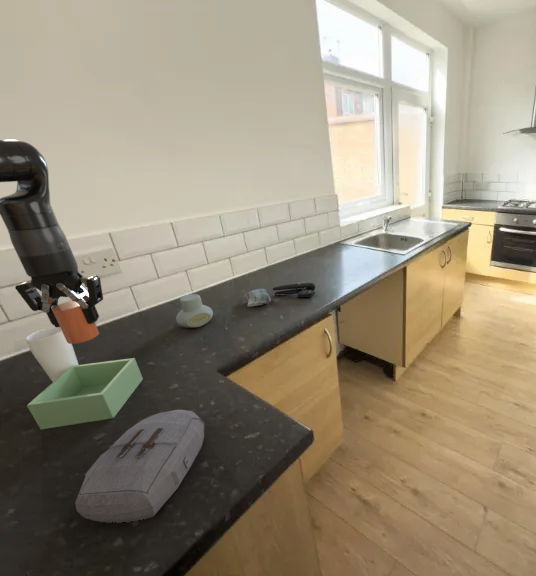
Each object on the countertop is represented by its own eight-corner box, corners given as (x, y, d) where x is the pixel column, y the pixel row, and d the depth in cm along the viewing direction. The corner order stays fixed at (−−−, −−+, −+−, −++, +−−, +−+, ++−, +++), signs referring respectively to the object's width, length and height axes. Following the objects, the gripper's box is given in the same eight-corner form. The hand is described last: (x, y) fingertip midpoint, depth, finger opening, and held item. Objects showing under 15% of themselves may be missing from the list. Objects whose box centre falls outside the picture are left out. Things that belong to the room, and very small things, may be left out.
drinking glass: (92, 380, 82) (69, 330, 76) (58, 396, 77) (30, 343, 71) (82, 372, 85) (58, 323, 79) (48, 387, 80) (20, 336, 74)
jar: (60, 345, 68) (44, 312, 65) (77, 332, 73) (63, 301, 70) (90, 342, 69) (75, 309, 66) (104, 329, 74) (91, 298, 71)
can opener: (318, 292, 132) (317, 279, 130) (313, 299, 125) (311, 286, 123) (277, 291, 134) (275, 279, 131) (270, 298, 127) (268, 285, 125)
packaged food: (248, 311, 117) (246, 299, 115) (244, 300, 126) (241, 288, 125) (272, 306, 121) (270, 294, 119) (266, 295, 130) (264, 284, 128)
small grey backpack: (168, 525, 49) (223, 424, 67) (151, 488, 46) (214, 393, 64) (67, 531, 48) (150, 428, 67) (43, 494, 45) (137, 396, 64)
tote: (40, 429, 67) (26, 405, 65) (82, 387, 79) (71, 365, 77) (113, 418, 70) (102, 394, 67) (143, 379, 82) (134, 357, 79)
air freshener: (209, 314, 115) (202, 289, 112) (218, 321, 110) (211, 295, 106) (175, 325, 108) (167, 299, 104) (183, 334, 103) (175, 306, 99)
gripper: (96, 242, 68) (123, 312, 75) (16, 247, 65) (51, 320, 72) (73, 251, 61) (104, 327, 68) (-17, 257, 59) (24, 336, 65)
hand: (77, 323), depth 70 cm, fingers closed on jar, 5 cm apart
